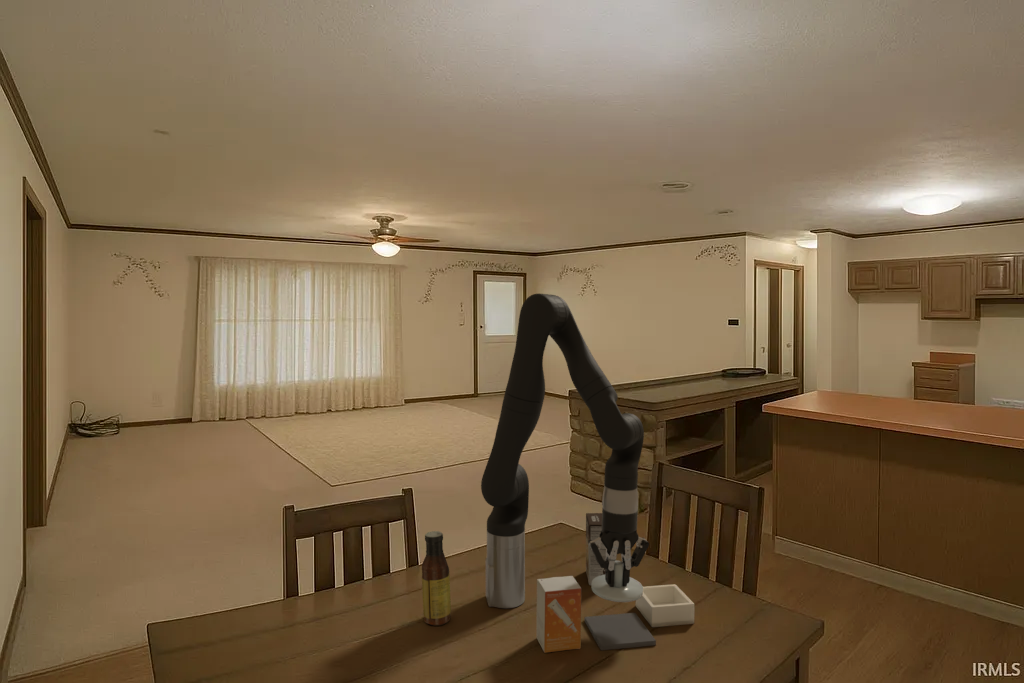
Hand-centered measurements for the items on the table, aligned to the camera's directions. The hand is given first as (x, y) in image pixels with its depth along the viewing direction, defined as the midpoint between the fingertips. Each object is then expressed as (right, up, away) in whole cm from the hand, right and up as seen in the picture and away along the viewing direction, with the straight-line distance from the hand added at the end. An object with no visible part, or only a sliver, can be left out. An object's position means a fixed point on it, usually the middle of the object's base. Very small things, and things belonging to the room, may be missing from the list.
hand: (617, 584), depth 131 cm
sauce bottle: (-40, -11, +6) cm, 42 cm away
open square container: (+12, -10, +8) cm, 18 cm away
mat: (0, -11, 0) cm, 11 cm away
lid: (0, -1, 0) cm, 1 cm away
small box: (-13, -11, -4) cm, 18 cm away
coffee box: (0, -10, +28) cm, 29 cm away
